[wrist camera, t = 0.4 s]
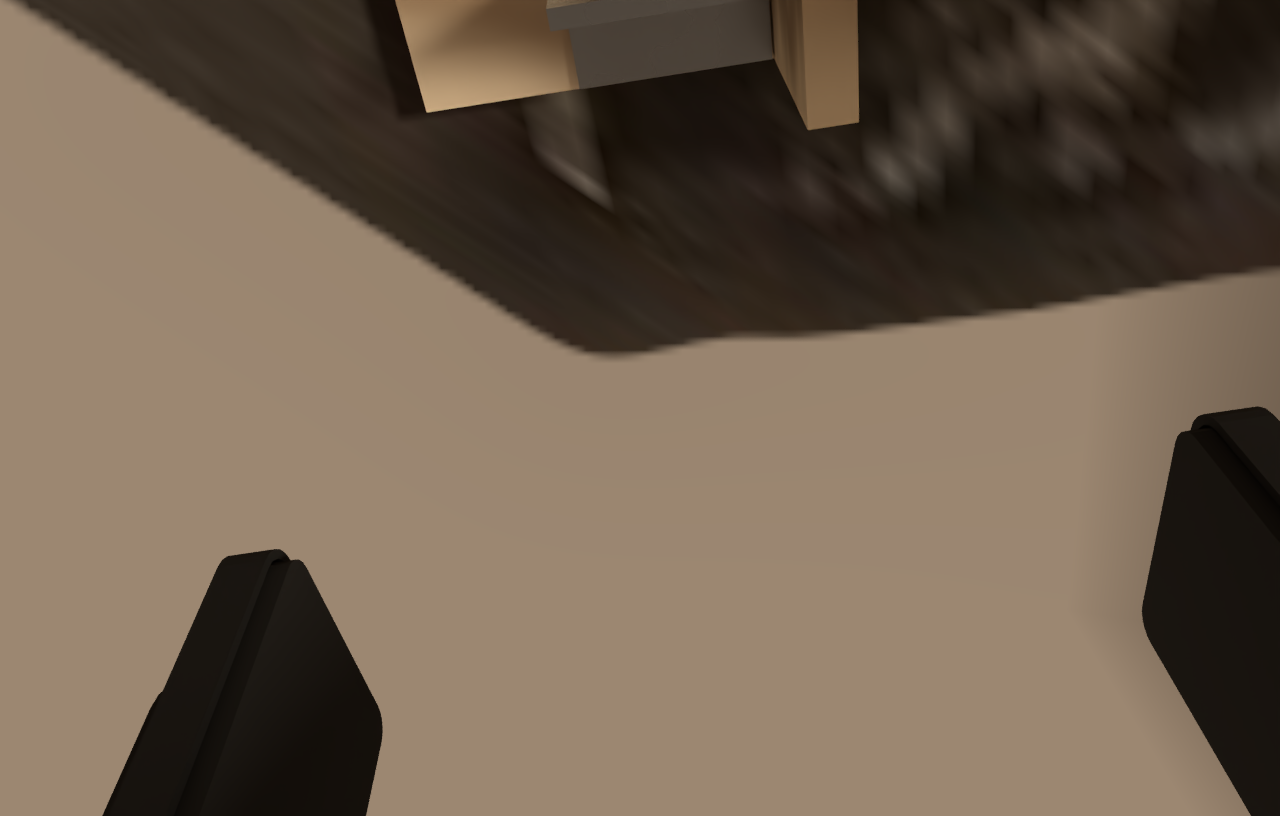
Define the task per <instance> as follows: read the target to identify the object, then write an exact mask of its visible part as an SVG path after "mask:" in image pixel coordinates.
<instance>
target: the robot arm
mask: <svg viewBox="0 0 1280 816" xmlns="http://www.w3.org/2000/svg"><path fill="white" fill-rule="evenodd" d="M1142 616H1143V623H1144V627H1145V630H1146V633H1147V636H1148V638H1149V640H1150V642H1151V644H1152V646H1153V648H1154V649H1155V651H1156V653H1157V655H1158V656H1159V658H1160V659H1161V661H1162V663H1163V664H1164V667H1165V668H1166V670H1167V672H1168V673H1169V675H1170V677H1171V679H1172V680H1173V682H1174V684H1175V685H1176V687H1177V689H1178V691H1179V692H1180V694H1181V695H1182V698H1183V699H1184V701H1185V703H1186V704H1187V706H1188V708H1189V709H1190V711H1191V713H1192V715H1193V717H1194V718H1195V720H1196V722H1197V723H1198V725H1199V727H1200V729H1201V730H1202V732H1203V733H1204V735H1205V737H1206V739H1207V740H1208V742H1209V744H1210V746H1211V748H1212V749H1213V751H1214V753H1215V754H1216V756H1217V758H1218V760H1219V761H1220V763H1221V765H1222V766H1223V768H1224V770H1225V772H1226V773H1227V775H1228V777H1229V778H1230V780H1231V782H1232V784H1233V785H1234V787H1235V789H1236V791H1237V792H1238V794H1239V796H1240V798H1241V799H1242V801H1243V803H1244V804H1245V806H1246V808H1247V809H1248V811H1249V813H1250V815H1251V816H1280V421H1279V420H1278V419H1277V418H1276V417H1275V416H1274V415H1273V414H1272V413H1271V412H1269V411H1268V410H1267V409H1265V408H1262V407H1251V408H1244V409H1237V410H1230V411H1224V412H1216V413H1209V414H1203V415H1200V416H1198V417H1197V418H1196V419H1195V420H1194V422H1193V424H1192V427H1191V430H1190V431H1185V432H1181V433H1180V434H1179V435H1178V436H1177V439H1176V442H1175V447H1174V452H1173V457H1172V462H1171V467H1170V472H1169V476H1168V481H1167V487H1166V492H1165V497H1164V501H1163V506H1162V511H1161V516H1160V522H1159V526H1158V531H1157V536H1156V541H1155V546H1154V551H1153V556H1152V561H1151V565H1150V571H1149V575H1148V580H1147V585H1146V590H1145V595H1144V600H1143V606H1142ZM381 742H382V718H381V713H380V710H379V708H378V705H377V703H376V701H375V699H374V697H373V696H372V694H371V692H370V690H369V688H368V686H367V684H366V682H365V680H364V678H363V676H362V674H361V673H360V670H359V668H358V666H357V665H356V663H355V661H354V659H353V657H352V655H351V653H350V651H349V649H348V647H347V646H346V643H345V641H344V640H343V637H342V636H341V634H340V632H339V630H338V628H337V626H336V624H335V622H334V620H333V618H332V616H331V614H330V612H329V610H328V608H327V607H326V605H325V603H324V601H323V599H322V597H321V595H320V593H319V591H318V589H317V587H316V585H315V584H314V582H313V579H312V578H311V575H310V574H309V572H308V570H307V568H306V566H305V565H304V563H303V562H302V561H300V560H290V559H289V557H288V556H287V555H286V554H285V553H284V552H283V551H282V550H280V549H274V550H267V551H260V552H253V553H246V554H239V555H233V556H228V557H226V558H224V559H223V560H222V561H221V563H220V564H219V566H218V568H217V570H216V572H215V574H214V577H213V579H212V581H211V583H210V586H209V588H208V590H207V593H206V595H205V597H204V599H203V601H202V604H201V606H200V608H199V611H198V613H197V615H196V617H195V620H194V622H193V624H192V627H191V629H190V631H189V633H188V635H187V638H186V640H185V642H184V644H183V647H182V649H181V651H180V653H179V656H178V658H177V661H176V662H175V665H174V667H173V670H172V671H171V674H170V676H169V678H168V681H167V683H166V685H165V688H164V690H163V691H162V692H161V693H160V694H159V695H158V697H157V699H156V700H155V702H154V703H153V705H152V707H151V708H150V710H149V713H148V715H147V717H146V719H145V722H144V724H143V726H142V728H141V731H140V733H139V735H138V737H137V740H136V742H135V744H134V746H133V748H132V751H131V753H130V755H129V758H128V760H127V762H126V764H125V766H124V769H123V771H122V773H121V775H120V778H119V780H118V782H117V784H116V787H115V789H114V791H113V793H112V795H111V798H110V800H109V802H108V804H107V807H106V809H105V811H104V814H103V816H366V813H367V808H368V803H369V799H370V794H371V789H372V784H373V780H374V775H375V770H376V765H377V761H378V756H379V751H380V747H381Z"/></svg>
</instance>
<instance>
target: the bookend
mask: <svg viewBox="0 0 1280 816" xmlns="http://www.w3.org/2000/svg"><path fill="white" fill-rule="evenodd" d="M546 12H547V17H548V22H549V27H550V32H551V31H558V30H564V29H569V34H570V39H571V45H572V50H573V55H574V61H575V66H576V72H577V77H578V83H579V88H580V89H586V88H592V87H599V86H605V85H611V84H618V83H624V82H630V81H637V80H643V79H650V78H656V77H662V76H669V75H675V74H681V73H688V72H694V71H700V70H707V69H713V68H720V67H726V66H732V65H739V64H745V63H751V62H758V61H764V60H771V59H773V58H772V43H771V27H770V12H769V0H547V6H546Z"/></svg>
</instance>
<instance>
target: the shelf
mask: <svg viewBox="0 0 1280 816" xmlns="http://www.w3.org/2000/svg"><path fill="white" fill-rule="evenodd" d="M395 1H396V5H397V8H398V12H399V16H400V19H401V23H402V26H403V30H404V33H405V37H406V41H407V44H408V48H409V51H410V55H411V58H412V62H413V66H414V69H415V73H416V76H417V80H418V83H419V87H420V90H421V94H422V98H423V101H424V105H425V108H426V112H427V113H428V112H434V111H441V110H447V109H453V108H460V107H466V106H473V105H479V104H485V103H492V102H498V101H504V100H511V99H517V98H523V97H530V96H536V95H543V94H549V93H555V92H562V91H568V90H574V89H580V88H579V83H578V77H577V72H576V66H575V61H574V55H573V50H572V45H571V39H570V34H569V29H564V30H558V31H551V32H550V27H549V22H548V17H547V12H546V6H547V0H395ZM769 12H770V27H771V43H772V58H774V59H775V61H776V64H777V66H778V68H779V70H780V72H781V74H782V76H783V78H784V81H785V83H786V85H787V87H788V89H789V91H790V93H791V95H792V98H793V100H794V102H795V104H796V106H797V108H798V110H799V112H800V115H801V117H802V119H803V121H804V123H805V125H806V127H807V130H813V129H819V128H826V127H832V126H839V125H845V124H852V123H858V122H859V82H858V7H857V0H769Z"/></svg>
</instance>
